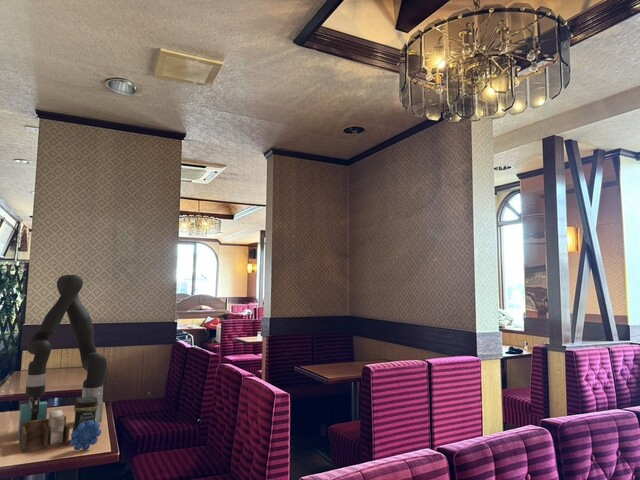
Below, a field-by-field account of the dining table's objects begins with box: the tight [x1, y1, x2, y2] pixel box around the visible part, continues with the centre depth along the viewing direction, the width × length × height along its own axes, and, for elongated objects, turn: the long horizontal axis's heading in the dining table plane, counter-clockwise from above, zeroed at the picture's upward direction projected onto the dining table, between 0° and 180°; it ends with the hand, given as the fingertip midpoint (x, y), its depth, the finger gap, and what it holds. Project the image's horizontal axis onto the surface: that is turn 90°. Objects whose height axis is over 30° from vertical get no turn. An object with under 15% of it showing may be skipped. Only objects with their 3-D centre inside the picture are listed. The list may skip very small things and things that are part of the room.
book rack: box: [18, 409, 70, 454], centre depth 192 cm, size 17×14×12 cm
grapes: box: [69, 420, 103, 452], centre depth 187 cm, size 12×7×12 cm, turn 119°
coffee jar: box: [70, 396, 98, 440], centre depth 198 cm, size 10×8×19 cm
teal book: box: [17, 400, 49, 440], centre depth 201 cm, size 4×10×14 cm, turn 128°
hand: (32, 420), depth 201 cm, fingers open, 8 cm apart
